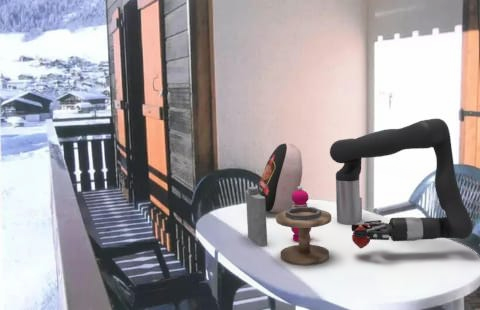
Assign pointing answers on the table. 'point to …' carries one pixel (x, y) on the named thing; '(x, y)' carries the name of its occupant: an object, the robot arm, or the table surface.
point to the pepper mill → (299, 201)
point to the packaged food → (281, 178)
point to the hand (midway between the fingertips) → (353, 230)
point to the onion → (360, 239)
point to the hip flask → (256, 217)
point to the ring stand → (304, 235)
